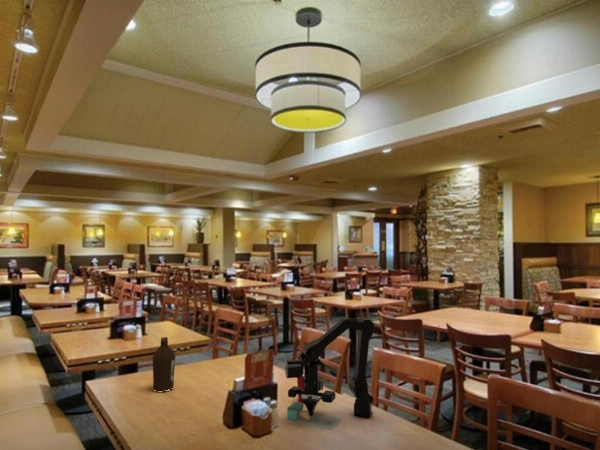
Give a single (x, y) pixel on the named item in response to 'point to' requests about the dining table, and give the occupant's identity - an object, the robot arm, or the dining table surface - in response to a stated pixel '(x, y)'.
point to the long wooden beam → (303, 414)
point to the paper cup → (300, 384)
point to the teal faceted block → (294, 410)
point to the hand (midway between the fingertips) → (311, 415)
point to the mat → (318, 421)
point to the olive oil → (163, 367)
